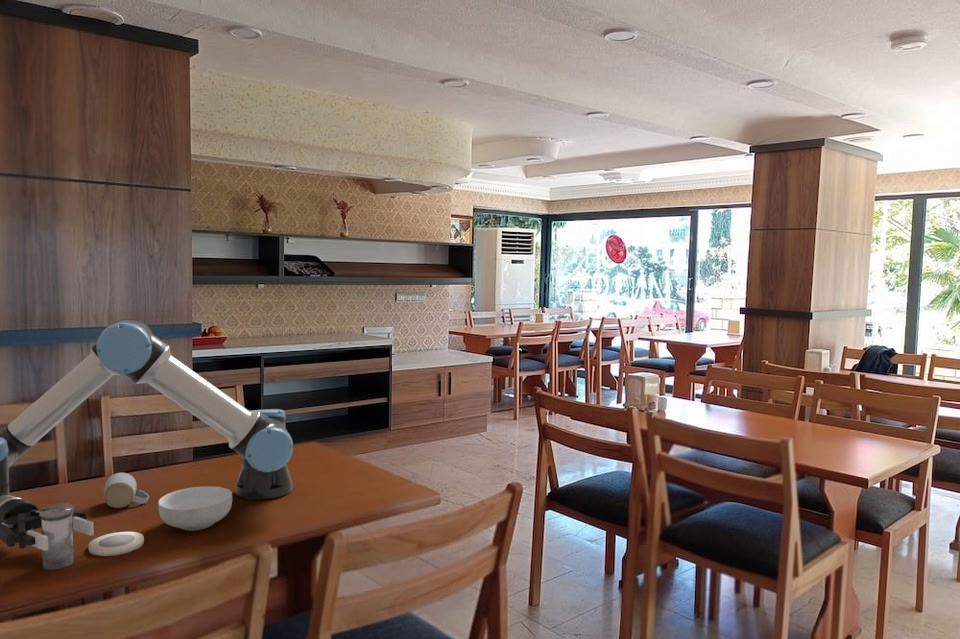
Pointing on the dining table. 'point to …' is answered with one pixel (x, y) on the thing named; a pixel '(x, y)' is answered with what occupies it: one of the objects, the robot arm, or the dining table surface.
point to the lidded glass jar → (57, 535)
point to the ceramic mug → (123, 491)
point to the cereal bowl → (195, 507)
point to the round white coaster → (116, 543)
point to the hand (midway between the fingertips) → (69, 536)
